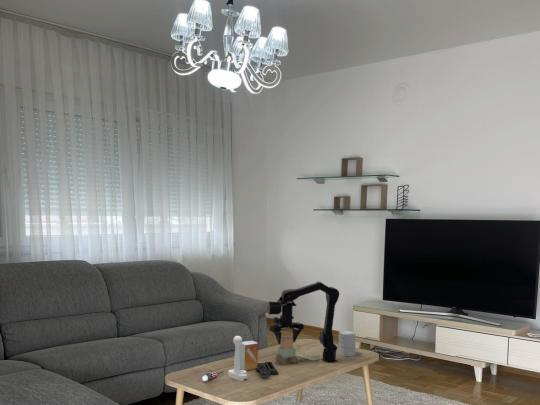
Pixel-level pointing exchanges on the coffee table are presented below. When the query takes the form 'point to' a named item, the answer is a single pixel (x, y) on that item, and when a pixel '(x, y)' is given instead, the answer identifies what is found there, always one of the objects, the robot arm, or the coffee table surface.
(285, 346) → the terracotta cube
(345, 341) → the supplement box
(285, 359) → the walnut base block
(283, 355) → the sage top block
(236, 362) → the joystick
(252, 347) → the small box
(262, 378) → the coffee table surface
